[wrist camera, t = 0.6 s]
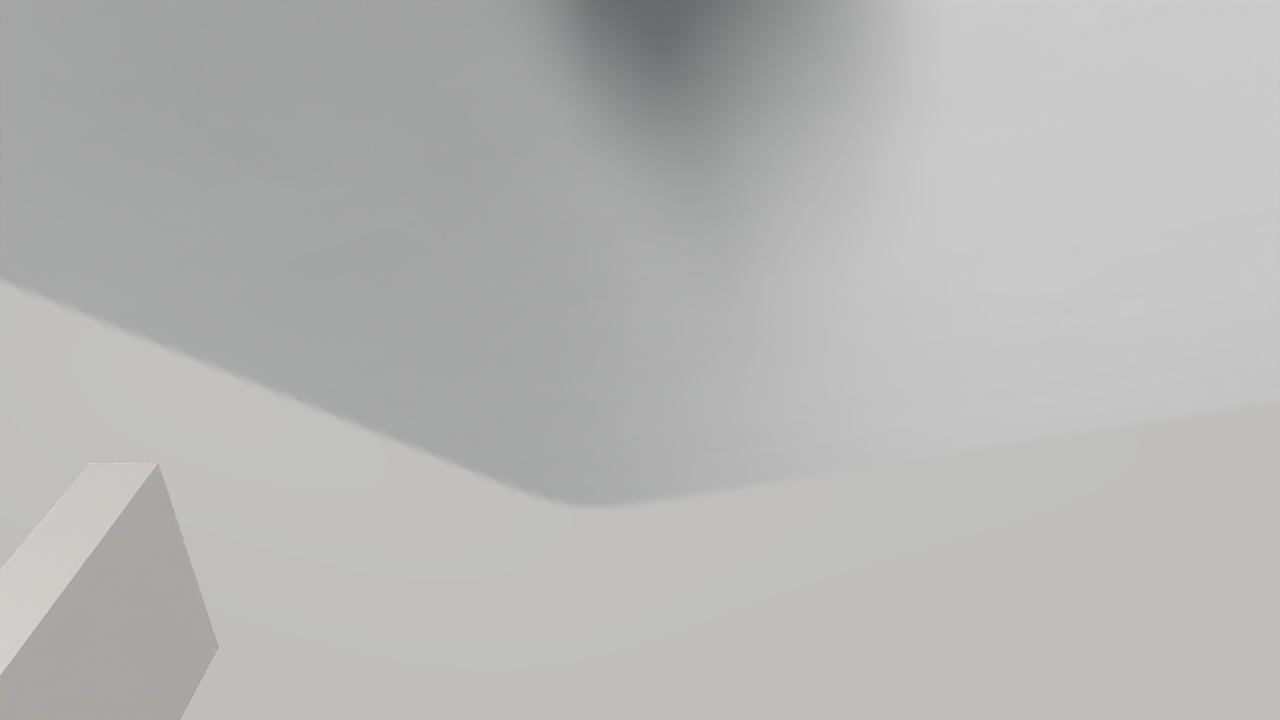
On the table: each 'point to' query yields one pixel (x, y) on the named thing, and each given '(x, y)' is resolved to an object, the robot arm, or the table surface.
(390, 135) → the table surface
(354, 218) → the table surface
